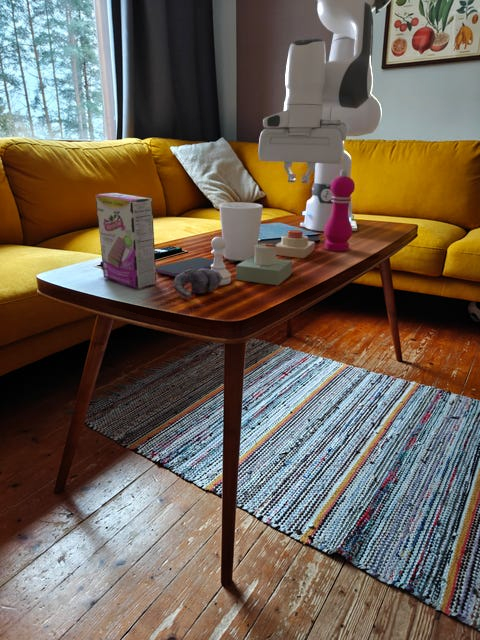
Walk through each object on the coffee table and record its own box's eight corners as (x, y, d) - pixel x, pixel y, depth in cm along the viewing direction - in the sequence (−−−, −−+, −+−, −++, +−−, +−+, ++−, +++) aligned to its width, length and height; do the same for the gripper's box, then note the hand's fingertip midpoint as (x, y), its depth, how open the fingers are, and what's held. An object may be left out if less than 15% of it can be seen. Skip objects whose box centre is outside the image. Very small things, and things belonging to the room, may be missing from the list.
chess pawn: (207, 286, 87) (207, 239, 83) (204, 278, 91) (203, 234, 88) (233, 285, 88) (233, 239, 84) (228, 277, 92) (228, 234, 89)
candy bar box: (101, 278, 90) (93, 194, 84) (122, 273, 94) (116, 192, 88) (137, 290, 83) (130, 199, 77) (158, 284, 87) (153, 197, 81)
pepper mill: (348, 246, 122) (357, 169, 115) (352, 252, 115) (361, 170, 108) (321, 245, 123) (328, 168, 115) (323, 251, 116) (330, 170, 109)
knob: (250, 263, 91) (251, 245, 90) (259, 259, 95) (259, 241, 93) (271, 266, 89) (272, 247, 88) (278, 261, 93) (279, 243, 92)
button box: (285, 246, 120) (285, 232, 119) (314, 250, 117) (315, 234, 116) (272, 254, 112) (273, 238, 110) (303, 258, 109) (305, 241, 107)
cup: (227, 267, 100) (228, 208, 95) (213, 257, 108) (213, 203, 104) (268, 263, 103) (270, 207, 99) (251, 254, 112) (252, 201, 107)
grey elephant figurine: (179, 306, 79) (220, 295, 86) (191, 288, 76) (233, 278, 82) (164, 283, 81) (205, 274, 88) (175, 264, 77) (217, 256, 84)
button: (290, 236, 115) (290, 229, 115) (303, 237, 114) (304, 230, 114) (285, 238, 112) (286, 231, 112) (299, 240, 111) (300, 233, 110)
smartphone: (223, 261, 101) (176, 273, 90) (223, 266, 102) (176, 278, 90) (199, 256, 105) (151, 267, 94) (199, 261, 106) (151, 272, 94)
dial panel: (252, 269, 99) (252, 255, 98) (291, 274, 95) (292, 259, 94) (235, 279, 91) (236, 264, 90) (278, 285, 88) (278, 270, 87)
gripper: (350, 120, 102) (344, 183, 107) (266, 120, 109) (263, 179, 115) (345, 119, 97) (338, 185, 102) (256, 119, 104) (254, 181, 109)
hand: (298, 182), depth 108 cm, fingers closed
